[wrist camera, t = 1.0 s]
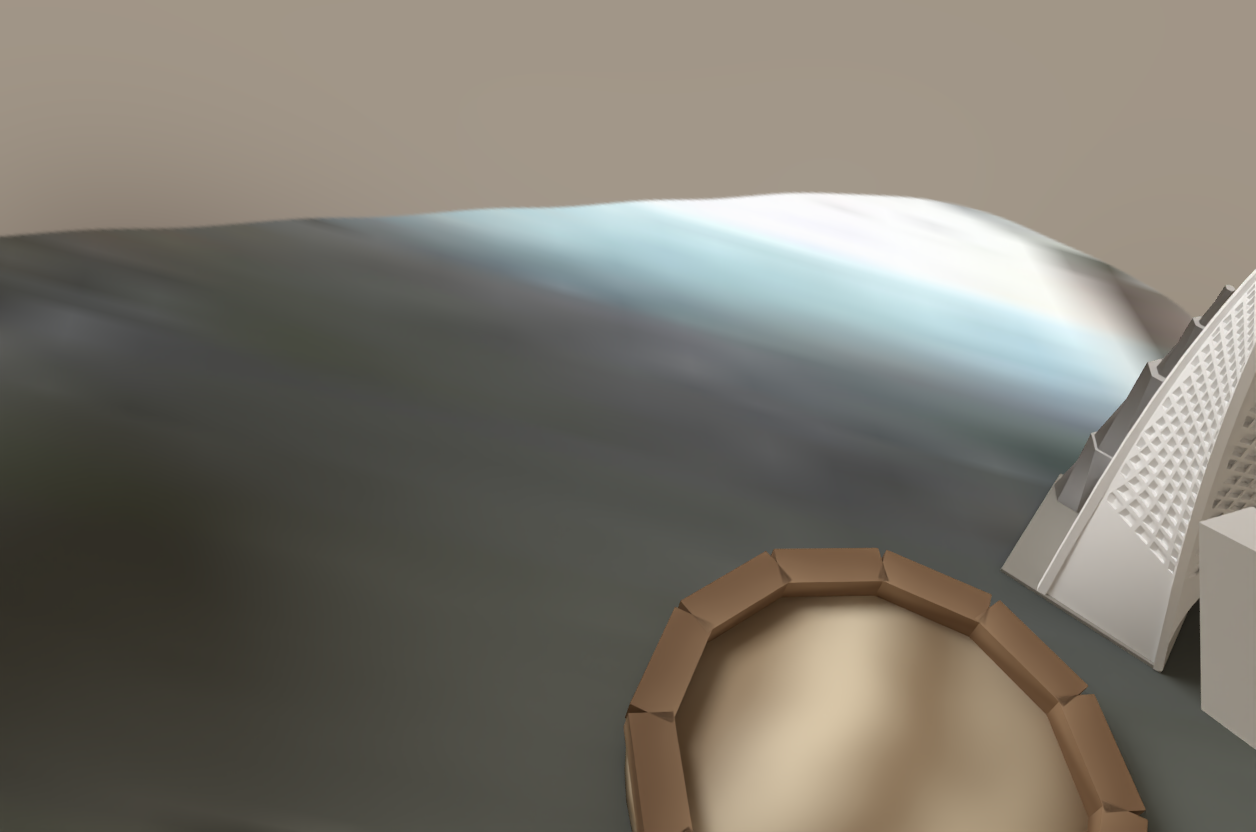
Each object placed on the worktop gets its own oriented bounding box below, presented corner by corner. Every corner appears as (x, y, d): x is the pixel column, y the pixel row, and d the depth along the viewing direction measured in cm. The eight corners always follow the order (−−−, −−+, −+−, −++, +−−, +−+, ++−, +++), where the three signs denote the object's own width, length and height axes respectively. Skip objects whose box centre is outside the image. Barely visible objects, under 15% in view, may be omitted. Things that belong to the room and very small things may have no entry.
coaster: (538, 908, 32) (545, 884, 31) (721, 514, 44) (732, 483, 42) (1088, 1187, 30) (1123, 1176, 28) (1130, 692, 41) (1158, 666, 40)
